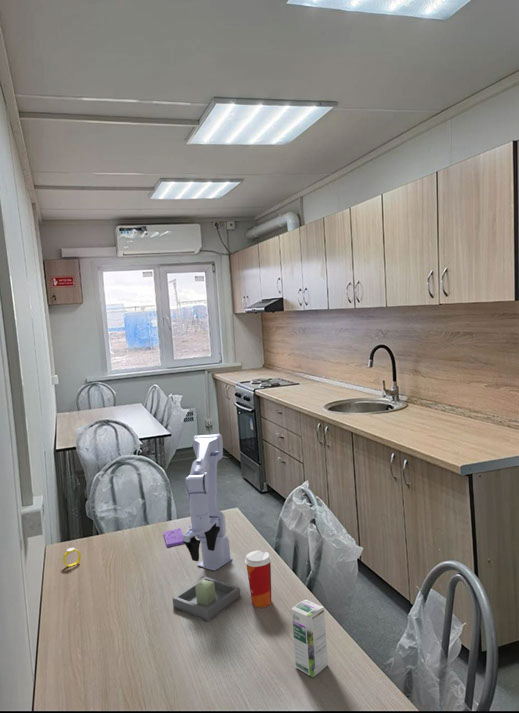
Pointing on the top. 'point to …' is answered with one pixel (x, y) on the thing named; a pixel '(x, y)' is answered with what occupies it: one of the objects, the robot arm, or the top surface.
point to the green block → (205, 592)
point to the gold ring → (71, 552)
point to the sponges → (173, 537)
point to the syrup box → (309, 637)
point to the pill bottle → (259, 577)
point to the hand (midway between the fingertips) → (203, 555)
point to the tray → (223, 600)
